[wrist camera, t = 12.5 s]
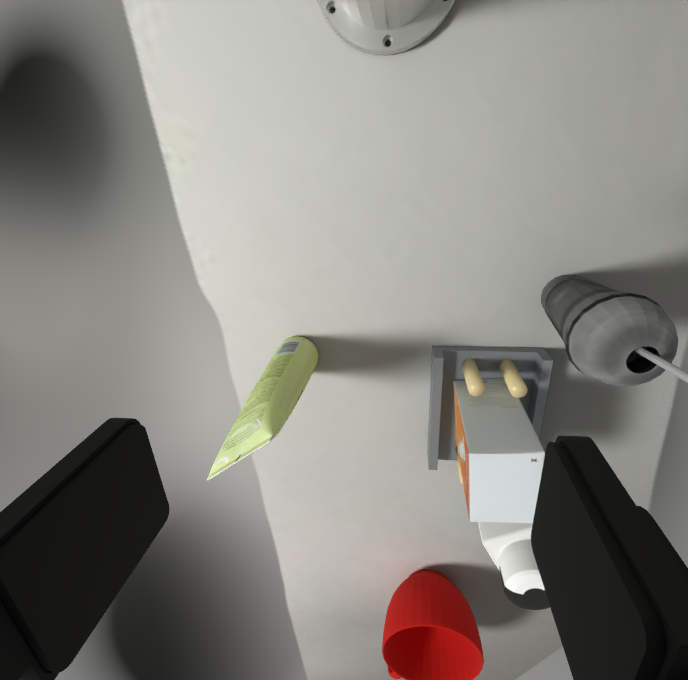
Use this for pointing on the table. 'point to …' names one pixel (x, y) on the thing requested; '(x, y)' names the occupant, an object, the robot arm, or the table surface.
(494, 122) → the table surface
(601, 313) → the beverage cup
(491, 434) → the small box
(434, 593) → the ceramic cup
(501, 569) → the medicine bottle
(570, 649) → the robot arm
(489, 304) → the table surface
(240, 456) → the tube
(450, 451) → the pin tray
